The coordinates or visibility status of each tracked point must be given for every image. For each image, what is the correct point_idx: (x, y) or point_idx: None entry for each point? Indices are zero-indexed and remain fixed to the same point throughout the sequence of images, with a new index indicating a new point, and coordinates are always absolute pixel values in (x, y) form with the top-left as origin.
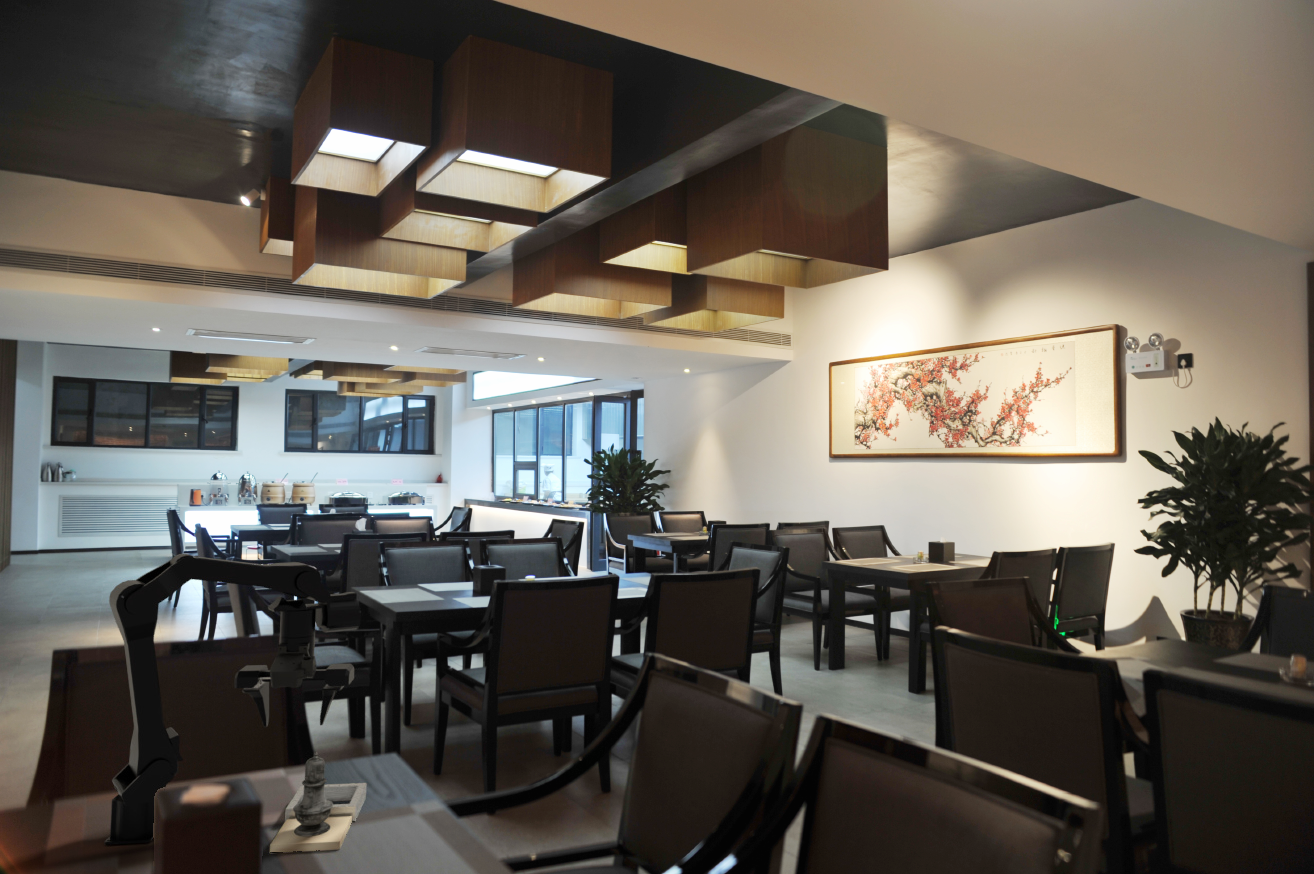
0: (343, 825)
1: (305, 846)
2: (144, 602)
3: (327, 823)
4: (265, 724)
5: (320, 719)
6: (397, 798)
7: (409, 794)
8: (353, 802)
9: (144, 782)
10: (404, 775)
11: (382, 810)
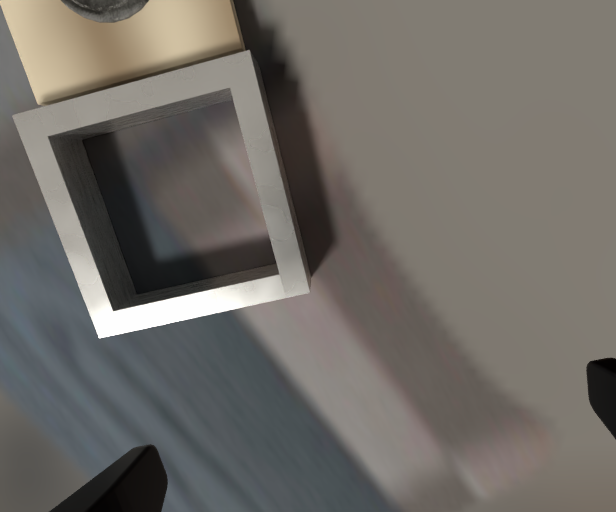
0: (16, 9)
1: None
2: None
3: (71, 7)
4: (608, 364)
5: (121, 473)
6: (27, 318)
7: (10, 351)
8: (40, 150)
9: None
10: None
11: (19, 222)
